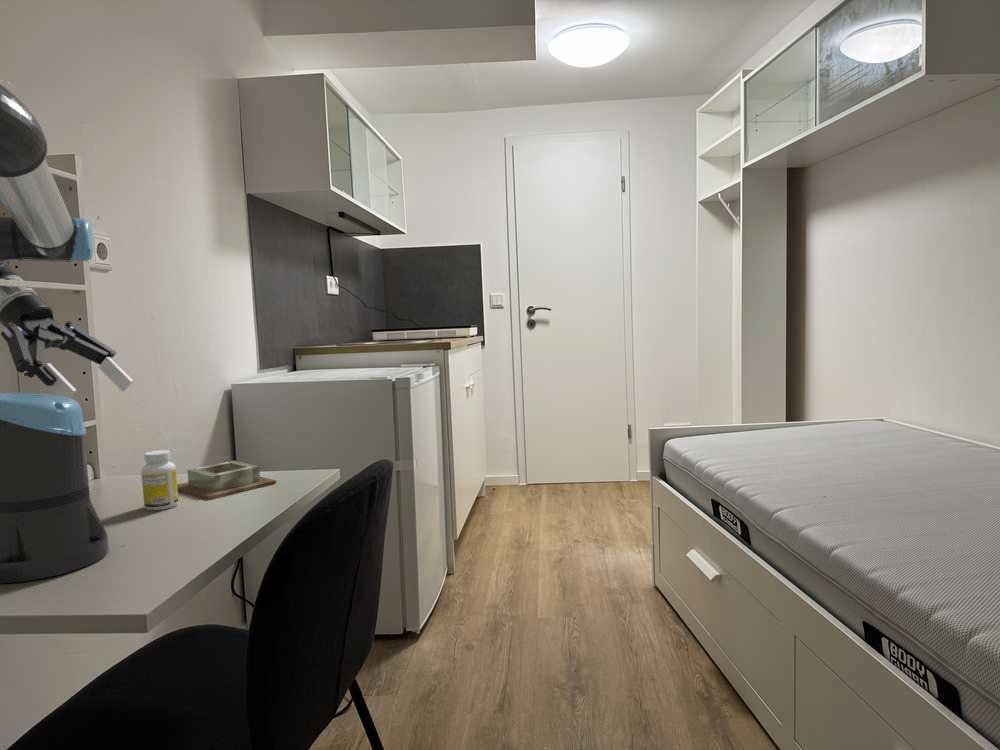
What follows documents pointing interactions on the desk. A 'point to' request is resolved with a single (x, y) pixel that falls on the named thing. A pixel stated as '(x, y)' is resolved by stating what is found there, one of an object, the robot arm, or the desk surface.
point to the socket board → (223, 480)
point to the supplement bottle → (159, 481)
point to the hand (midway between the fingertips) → (101, 391)
